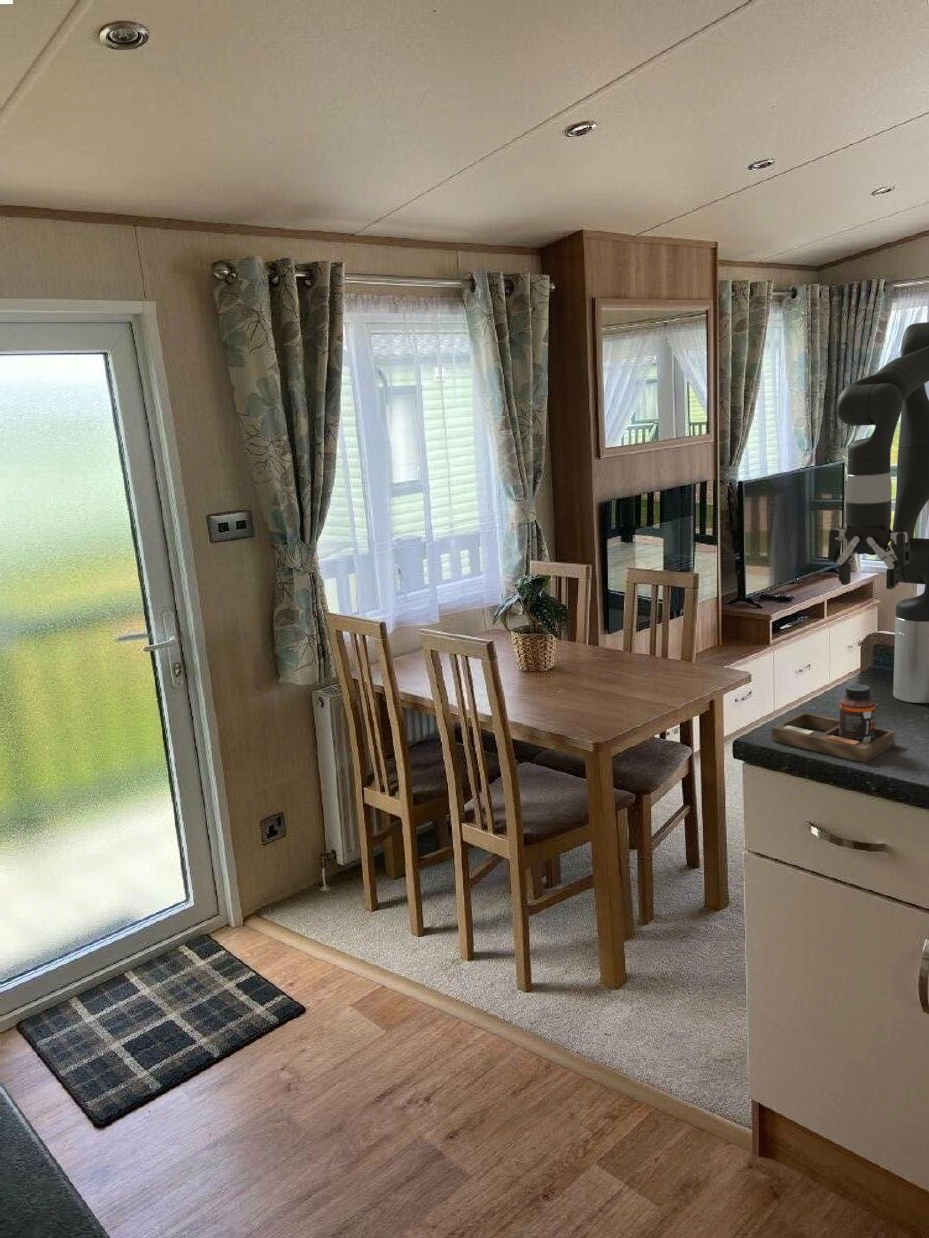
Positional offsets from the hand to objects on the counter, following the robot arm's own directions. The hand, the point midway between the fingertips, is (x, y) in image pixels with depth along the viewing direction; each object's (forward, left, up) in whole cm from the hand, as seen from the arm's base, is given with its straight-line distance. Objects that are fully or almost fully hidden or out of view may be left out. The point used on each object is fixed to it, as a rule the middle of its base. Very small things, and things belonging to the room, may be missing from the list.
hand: (867, 586), depth 174 cm
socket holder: (+8, +3, -28) cm, 30 cm away
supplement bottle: (+5, +6, -29) cm, 30 cm away
